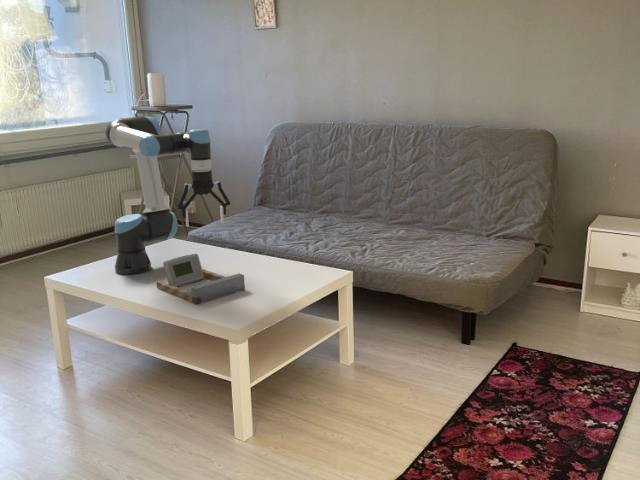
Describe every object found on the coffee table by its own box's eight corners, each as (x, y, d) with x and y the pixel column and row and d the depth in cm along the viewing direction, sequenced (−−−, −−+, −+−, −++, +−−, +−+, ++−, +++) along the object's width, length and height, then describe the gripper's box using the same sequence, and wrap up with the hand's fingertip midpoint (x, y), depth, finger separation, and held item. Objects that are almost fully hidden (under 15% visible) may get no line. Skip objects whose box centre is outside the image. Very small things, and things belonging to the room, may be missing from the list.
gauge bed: (156, 287, 250) (156, 281, 250) (203, 274, 265) (203, 268, 264) (196, 304, 231) (196, 297, 230) (244, 289, 245) (244, 283, 245)
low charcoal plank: (192, 302, 233) (190, 287, 231) (240, 287, 247) (239, 273, 246) (196, 304, 231) (195, 289, 229) (244, 289, 245) (244, 274, 244)
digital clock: (169, 289, 248) (167, 263, 245) (161, 283, 255) (159, 258, 252) (207, 281, 256) (206, 256, 254) (199, 276, 264) (197, 251, 261)
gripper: (169, 174, 235) (173, 229, 240) (235, 169, 242) (238, 223, 248) (167, 170, 241) (171, 225, 247) (232, 166, 249) (234, 219, 255)
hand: (205, 224), depth 248 cm, fingers open, 13 cm apart
